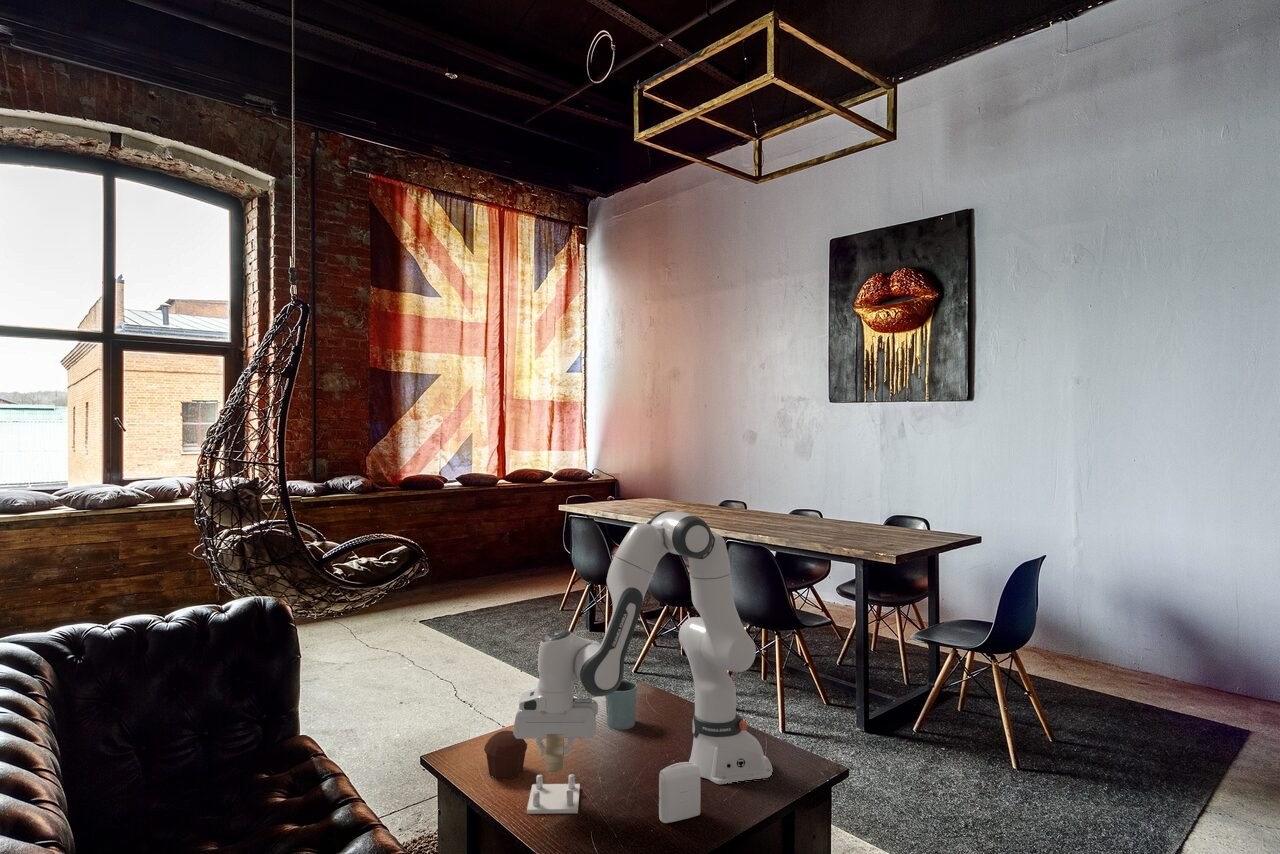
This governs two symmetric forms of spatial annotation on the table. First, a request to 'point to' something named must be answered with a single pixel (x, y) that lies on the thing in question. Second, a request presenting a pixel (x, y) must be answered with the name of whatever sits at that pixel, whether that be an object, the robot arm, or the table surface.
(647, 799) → the table surface
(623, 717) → the teal cup
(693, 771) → the photo printer
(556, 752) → the block
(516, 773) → the muffin
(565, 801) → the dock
